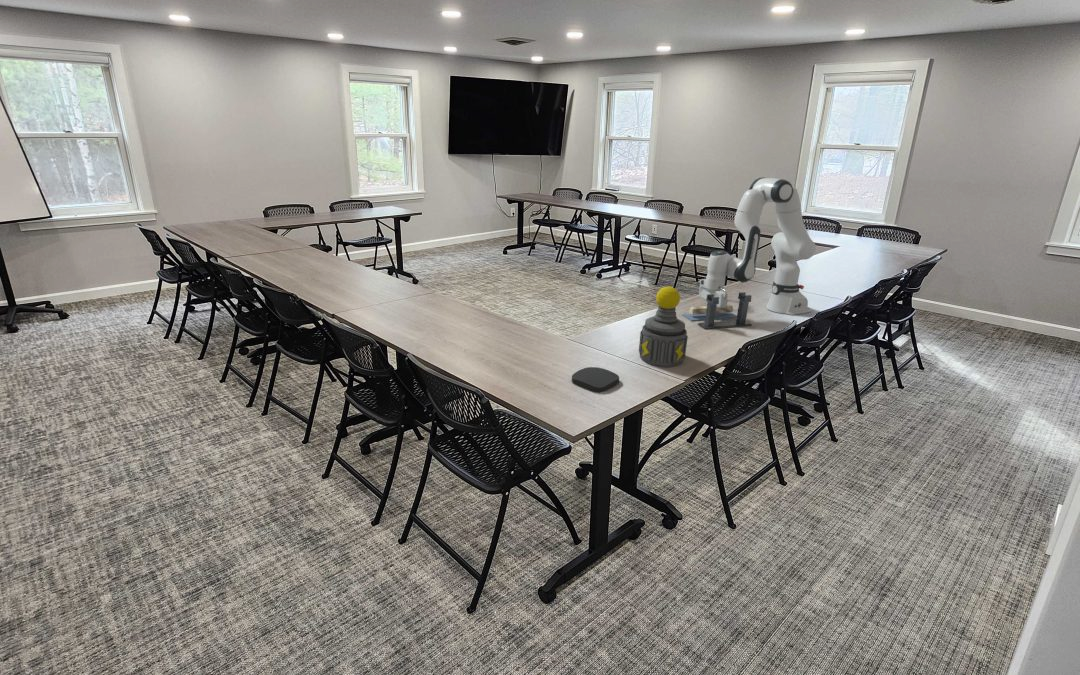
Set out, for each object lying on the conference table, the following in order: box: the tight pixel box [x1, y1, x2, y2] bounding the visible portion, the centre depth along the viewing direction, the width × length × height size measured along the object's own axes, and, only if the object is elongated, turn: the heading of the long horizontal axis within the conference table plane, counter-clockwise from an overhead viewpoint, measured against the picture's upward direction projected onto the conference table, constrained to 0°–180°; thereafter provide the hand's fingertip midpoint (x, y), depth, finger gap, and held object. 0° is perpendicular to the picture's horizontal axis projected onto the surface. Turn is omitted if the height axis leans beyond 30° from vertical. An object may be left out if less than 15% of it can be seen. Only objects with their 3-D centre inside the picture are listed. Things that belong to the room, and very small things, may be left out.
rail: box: [688, 304, 734, 315], centre depth 278 cm, size 22×3×3 cm, turn 105°
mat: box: [681, 312, 737, 322], centre depth 279 cm, size 26×9×1 cm, turn 105°
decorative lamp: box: [638, 286, 689, 368], centre depth 223 cm, size 19×19×30 cm
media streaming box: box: [571, 366, 620, 393], centre depth 206 cm, size 15×15×3 cm
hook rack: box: [697, 291, 753, 330], centre depth 265 cm, size 25×6×15 cm, turn 105°
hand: (711, 311), depth 278 cm, fingers closed on rail, 3 cm apart
